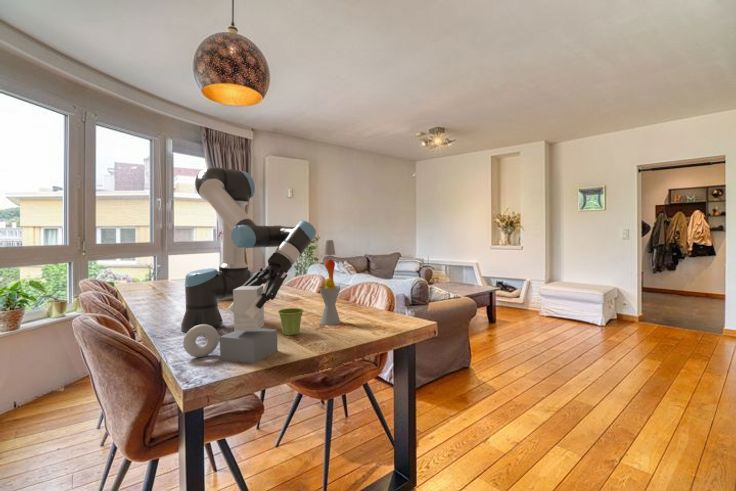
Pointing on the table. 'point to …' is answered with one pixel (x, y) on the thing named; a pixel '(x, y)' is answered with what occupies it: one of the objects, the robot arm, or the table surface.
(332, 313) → the lava lamp
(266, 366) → the table surface
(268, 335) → the slate block
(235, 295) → the supplement box
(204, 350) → the donut
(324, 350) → the table surface
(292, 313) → the plant pot
